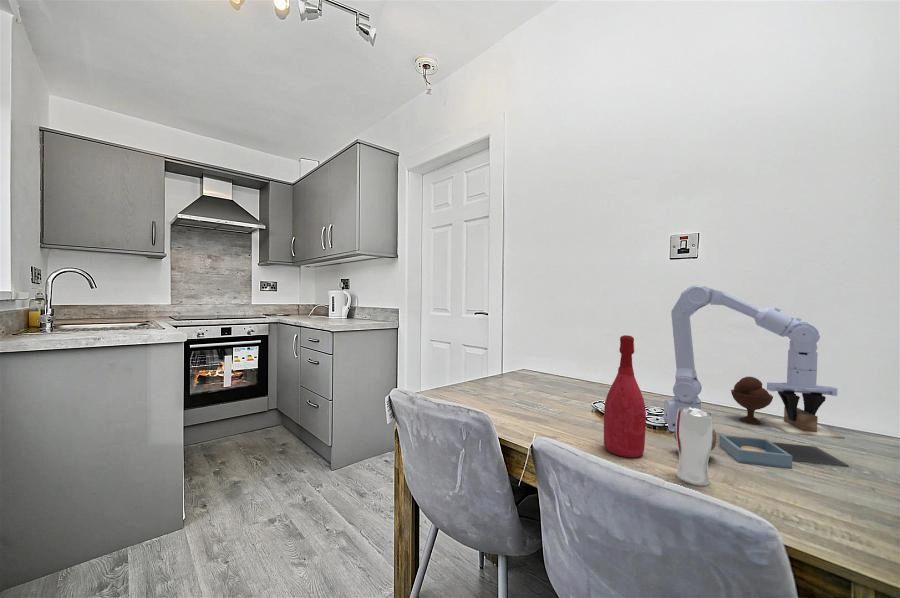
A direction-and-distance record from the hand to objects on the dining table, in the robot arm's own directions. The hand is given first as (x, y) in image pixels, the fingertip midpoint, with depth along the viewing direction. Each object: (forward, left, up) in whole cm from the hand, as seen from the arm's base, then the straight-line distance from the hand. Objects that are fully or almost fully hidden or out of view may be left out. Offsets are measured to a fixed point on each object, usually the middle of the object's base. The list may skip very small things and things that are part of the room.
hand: (800, 420), depth 101 cm
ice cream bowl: (+1, +27, -9) cm, 28 cm away
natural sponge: (-28, -11, -9) cm, 31 cm away
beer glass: (-33, -25, -9) cm, 42 cm away
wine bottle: (-45, -13, -9) cm, 48 cm away
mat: (0, 0, -9) cm, 9 cm away
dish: (-13, -6, -9) cm, 17 cm away
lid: (0, 0, -2) cm, 2 cm away
